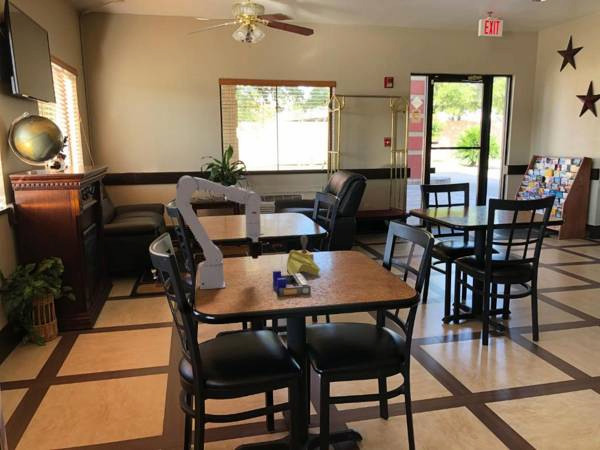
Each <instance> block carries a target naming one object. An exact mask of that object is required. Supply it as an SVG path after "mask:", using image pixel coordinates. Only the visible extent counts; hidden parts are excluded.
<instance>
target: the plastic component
mask: <svg viewBox="0 0 600 450" xmlns="http://www.w3.org/2000/svg"><path fill="white" fill-rule="evenodd" d="M298 251H299V250H295V249H292V250H290V251H289V254H288V257H287V262H286V270H287V272H288V273H289V275H291V274H297V273H300V272H301V273H302V272H305V273H307V274H309V275H312V276H316V277H317V276H318V274H319V272H320V271H321V268H320V267H319V266H318V264H317V263H315V260H314V261H313V260H312V259H311V258H309V257H308V256H306V255H304V254H302V253H300V252H298Z"/></svg>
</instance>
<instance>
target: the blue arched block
mask: <svg viewBox="0 0 600 450" xmlns="http://www.w3.org/2000/svg"><path fill="white" fill-rule="evenodd" d="M281 275H282V271H281V270H272V286H273V288H274V290H275V292H276V294H277V295H278V296H280V293H279V288H282V287H291V285H290V284H287V283H286V278H281Z"/></svg>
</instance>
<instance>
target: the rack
mask: <svg viewBox="0 0 600 450" xmlns="http://www.w3.org/2000/svg"><path fill="white" fill-rule="evenodd" d="M281 278H286V284H287V283H293V285H294V286H290V287H282V288H279V293H280V295H279V297H286V296H288V297H289V296H290V297H291V296H302V295H311V294H312V293H311V288H312V287H311V284H310V283H309V282H308V281H307V279H306V278H305V276H304V275H303V274H302V273H300V272H299V273H297V274H291V275H290V274H281Z"/></svg>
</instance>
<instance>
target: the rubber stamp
mask: <svg viewBox="0 0 600 450" xmlns="http://www.w3.org/2000/svg"><path fill="white" fill-rule="evenodd" d="M308 241H309V239H308V237H307V235H305V234H304V235H301V236H300V243H301V244H300V245H301V246H302V249H301V250H297V251H298V252H300V253H302V254H304V255H306V256H308V257H309V258H311V259H312V260H313V261H314V262H315V260H314V254H313V253H312V252H310V251H308V250H307V249H306V248H307V244H308Z"/></svg>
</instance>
